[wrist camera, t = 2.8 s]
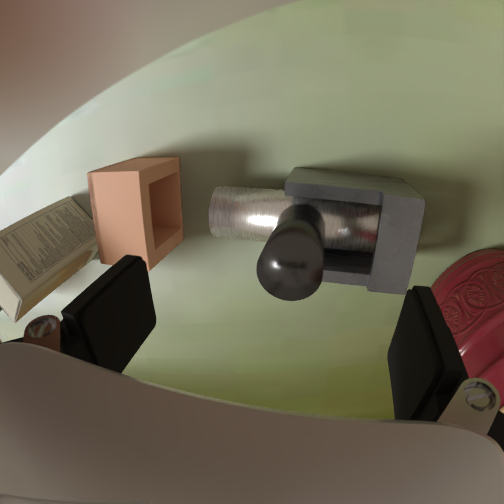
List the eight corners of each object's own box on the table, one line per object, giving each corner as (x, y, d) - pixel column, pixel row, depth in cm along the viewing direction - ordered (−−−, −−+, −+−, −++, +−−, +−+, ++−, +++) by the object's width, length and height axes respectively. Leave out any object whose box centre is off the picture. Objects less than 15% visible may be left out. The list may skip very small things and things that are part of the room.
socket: (179, 157, 24) (138, 171, 18) (183, 239, 27) (149, 271, 21) (132, 158, 25) (87, 172, 19) (139, 234, 28) (100, 263, 22)
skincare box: (57, 221, 30) (-28, 271, 19) (70, 193, 28) (-25, 239, 17) (94, 263, 31) (13, 326, 20) (110, 237, 29) (20, 301, 18)
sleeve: (402, 179, 21) (425, 199, 15) (390, 254, 23) (405, 294, 18) (294, 167, 22) (283, 184, 17) (290, 244, 25) (278, 281, 19)
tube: (389, 195, 21) (427, 249, 12) (382, 242, 22) (408, 317, 14) (225, 181, 23) (163, 223, 15) (225, 226, 25) (170, 289, 16)
